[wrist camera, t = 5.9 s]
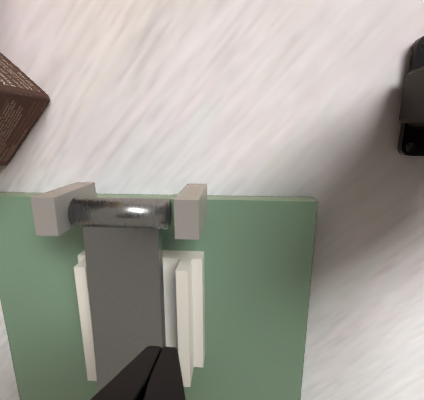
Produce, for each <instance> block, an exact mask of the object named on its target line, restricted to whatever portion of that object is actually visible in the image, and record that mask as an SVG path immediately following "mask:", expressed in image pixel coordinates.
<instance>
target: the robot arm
mask: <svg viewBox="0 0 424 400" xmlns="http://www.w3.org/2000/svg"><path fill="white" fill-rule="evenodd" d="M423 42H424V36H423V37H421V38H419V39H418V40H416V41H415V43H414V45H413V48H412V55H411V62H410V68H409V73H408V74H407V75H406V77H405V83H404V90H403V97H402V104H401V111H400V117H399V119H400V121H401V129H400V136H399V143H398V151H399V153H401V154H402V155H408V156H424V50H423V48H422V43H423ZM409 143H410V144H411V148H410V149H409V150H408V151H407V150H406V146H407V144H409ZM90 400H186V398H185V392H184V386H183V379H182V373H181V367H180V361H179V355H178V349H177V348H176V347H163V348H162V347H161V346H147V347H146V348H145V349H144V350H143V351H142V352H141V353H140V354H138V355H137V356H136V357H135V358H134V359H133V360H132V361H131V362H130V363H129V364H128V365H127V366H126V367H125V368H123V369H122V370H121V371H120V372H119V373H118V374H117V375H116V376H115V377H114V378H113V379H112V380H111V381H110V382H108V383H107V384H106V385H105V386H104V387H103V388H102V389H101V390H100V391H99V392H98V393H97V394H96V395H94V396H93V397H92V398H91V399H90Z"/></svg>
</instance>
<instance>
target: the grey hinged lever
mask: <svg viewBox="0 0 424 400" xmlns="http://www.w3.org/2000/svg"><path fill="white" fill-rule="evenodd" d="M68 219H69V222H70V224H71V225H72V226H73V227H83V236H84V246H85V257H86V268H87V279H88V290H89V301H90V311H91V322H92V333H93V344H94V355H95V365H96V376H97V387H98V392H99V391H100V390H101V389H102V388H103V387H104V386H105V385H106V384H107V383H108V382H110V381H111V380H112V379H113V378H114V377H115V376H116V375H117V374H118V373H119V372H120V371H121V370H122V369H123V368H125V367H126V366H127V365H128V364H129V363H130V362H131V361H132V360H133V359H134V358H135V357H136V356H137V355H138V354H140V353H141V352H142V351H143V350H144V349H145V348H146V347H147V346H161V347H162V348H163V347H166V337H165V308H164V280H163V251H162V229H169V228H170V225H171V220H172V205H171V200H170V199H169V198H109V197H74V198H73V199H72V200H71V202H70V204H69V207H68Z"/></svg>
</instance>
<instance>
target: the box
mask: <svg viewBox="0 0 424 400" xmlns="http://www.w3.org/2000/svg"><path fill="white" fill-rule="evenodd" d="M49 100H50V98H49V96H48V95H47V94H46V93H45V92H44V91H43V90H42V89H41V88H40V87H39V86H37V85H36V84H35V83H34V82H33V81H32V80H31V79H30V78H29V77H27V76H26V75H25V74H24V73H23V72H22V71H21V70H20V69H19V68H18V67H16V66H15V65H14V64H13V63H12V62H11V61H10V60H8V59H7V58H6V57H5V56H4V55H3V54H1V53H0V166H5V165H7V164H8V162H9V160H10V159H11V157H12V156H13V154H14V153H15V151H16V150H17V148H18V147H19V145H20V144H21V142H22V141H23V139H24V138H25V136H26V134H27V133H28V131H29V130H30V129H31V127H32V125H33V124H34V122H35V121H36V120H37V118H38V117H39V115H40V114H41V112H42V111H43V109H44V108H45V106H46V105H47V103H48V102H49Z"/></svg>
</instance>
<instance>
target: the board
mask: <svg viewBox="0 0 424 400" xmlns="http://www.w3.org/2000/svg"><path fill="white" fill-rule="evenodd" d="M74 197H109V198H169V199H170V200H171V205H172V220H171V225H170V228H169V229H162V251H163V280H164V308H165V337H166V347H176V348H177V349H178V355H179V361H180V367H181V373H182V379H183V386H184V392H185V398H186V400H300V398H301V387H302V375H303V364H304V352H305V341H306V330H307V318H308V307H309V295H310V284H311V272H312V261H313V250H314V238H315V227H316V215H317V204H318V201H317V200H315V199H314V198H313V197H276V196H211V195H207V184H187V185H186V186H185V187H184V188H183V190H182V191H181V192H180V193H179V194H178V195H145V194H96V191H95V183H89V182H76V183H73V184H70V185H67V186H64V187H61V188H58V189H55V190H52V191H48V192H45V193H15V192H0V299H1V305H2V310H3V315H4V320H5V325H6V330H7V335H8V340H9V346H10V351H11V356H12V361H13V366H14V371H15V376H16V381H17V387H18V392H19V397H20V400H90V399H91V398H92V397H93V396H94V395H96V394H97V393H98V387H97V376H96V365H95V355H94V344H93V333H92V322H91V311H90V301H89V290H88V279H87V268H86V257H85V246H84V236H83V227H73V226H72V225H71V224H70V222H69V219H68V207H69V204H70V202H71V200H72V199H73V198H74Z"/></svg>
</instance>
